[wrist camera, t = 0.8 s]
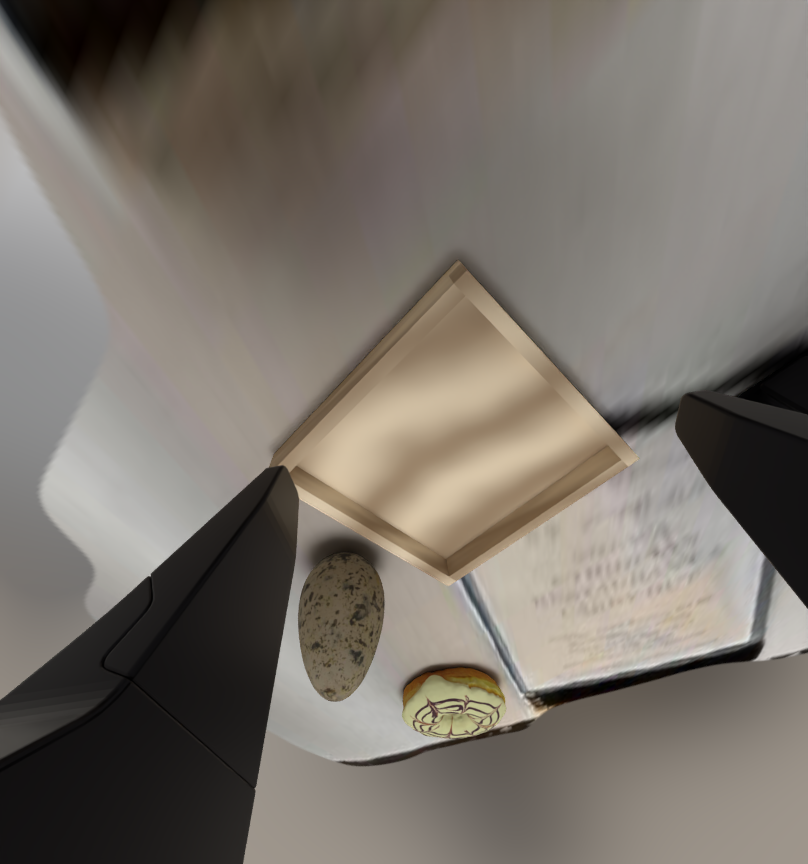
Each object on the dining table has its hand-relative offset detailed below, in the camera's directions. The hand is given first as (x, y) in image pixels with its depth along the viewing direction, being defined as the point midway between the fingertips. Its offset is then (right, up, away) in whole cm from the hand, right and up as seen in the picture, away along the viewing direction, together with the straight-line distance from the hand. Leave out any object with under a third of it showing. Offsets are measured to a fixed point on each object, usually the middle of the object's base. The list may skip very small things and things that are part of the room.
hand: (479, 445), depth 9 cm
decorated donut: (+3, -27, +36) cm, 45 cm away
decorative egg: (-6, -10, +23) cm, 26 cm away
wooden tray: (+1, -1, +17) cm, 17 cm away
